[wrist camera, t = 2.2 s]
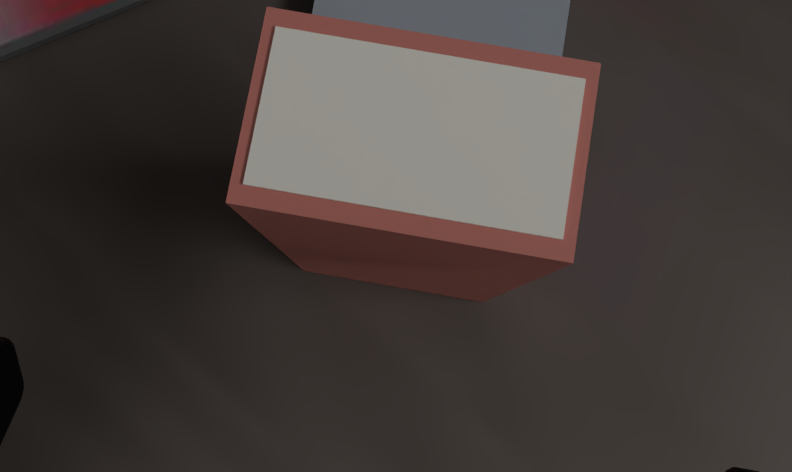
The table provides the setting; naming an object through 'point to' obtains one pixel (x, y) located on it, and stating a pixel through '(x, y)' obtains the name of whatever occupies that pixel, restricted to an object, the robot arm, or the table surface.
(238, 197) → the book
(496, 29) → the bookstand
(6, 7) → the tablet
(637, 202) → the table surface
